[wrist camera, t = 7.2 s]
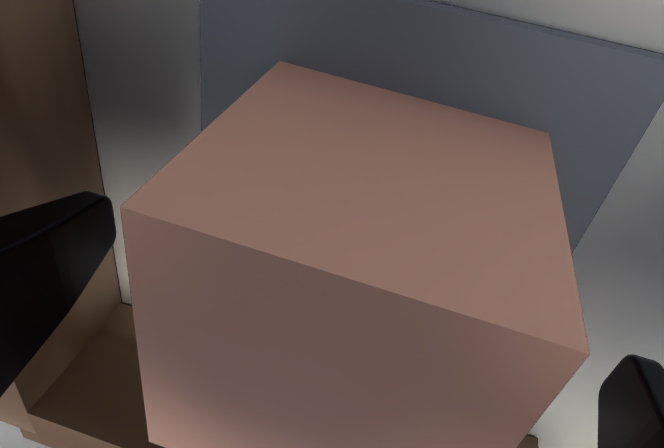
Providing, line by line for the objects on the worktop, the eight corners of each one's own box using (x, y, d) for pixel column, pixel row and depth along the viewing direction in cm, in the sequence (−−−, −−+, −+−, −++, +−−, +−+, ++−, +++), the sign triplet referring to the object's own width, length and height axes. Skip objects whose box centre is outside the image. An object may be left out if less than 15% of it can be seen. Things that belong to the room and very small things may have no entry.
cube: (548, 133, 9) (590, 353, 5) (457, 320, 12) (437, 547, 8) (279, 61, 9) (120, 206, 5) (259, 257, 12) (148, 441, 8)
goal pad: (498, 363, 13) (498, 375, 12) (209, 273, 14) (203, 283, 13) (677, 57, 8) (685, 65, 8) (210, -50, 9) (199, -47, 9)
